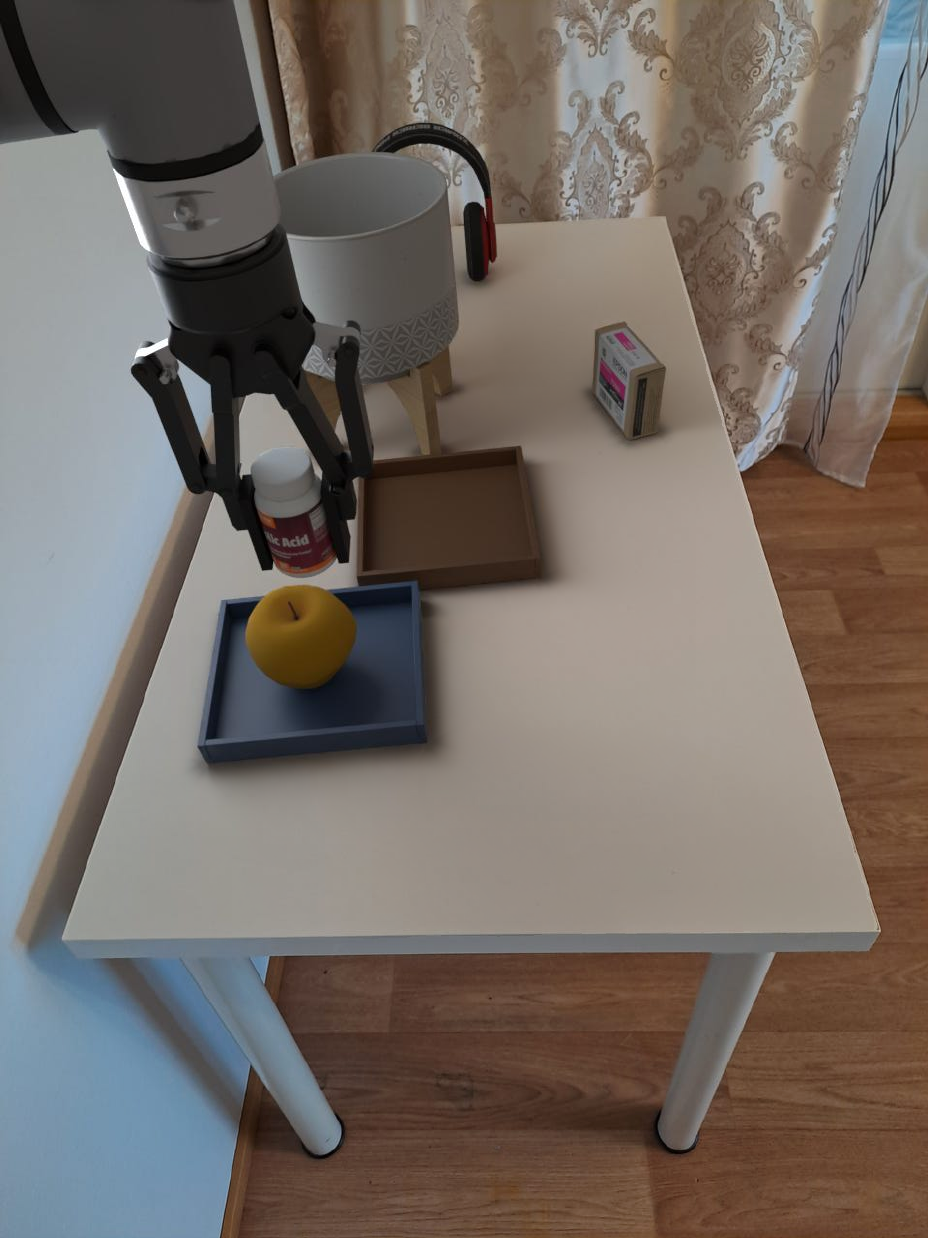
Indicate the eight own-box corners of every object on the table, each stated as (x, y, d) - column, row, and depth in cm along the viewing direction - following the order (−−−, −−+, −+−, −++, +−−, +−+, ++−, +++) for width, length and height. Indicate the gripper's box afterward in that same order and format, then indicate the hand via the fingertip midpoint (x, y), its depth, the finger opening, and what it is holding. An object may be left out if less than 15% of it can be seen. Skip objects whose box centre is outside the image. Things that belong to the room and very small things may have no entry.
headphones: (370, 303, 123) (345, 148, 108) (373, 268, 129) (349, 117, 115) (499, 292, 122) (491, 135, 107) (495, 258, 129) (488, 105, 114)
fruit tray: (206, 764, 74) (197, 746, 72) (228, 618, 85) (220, 599, 83) (427, 743, 74) (423, 724, 72) (420, 599, 85) (417, 580, 83)
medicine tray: (360, 595, 86) (356, 576, 84) (362, 480, 97) (358, 461, 95) (541, 577, 86) (541, 558, 84) (521, 464, 97) (521, 445, 95)
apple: (378, 641, 81) (362, 570, 74) (344, 722, 75) (324, 652, 69) (284, 627, 83) (261, 557, 76) (245, 705, 77) (216, 636, 70)
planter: (501, 420, 103) (488, 186, 83) (367, 496, 95) (319, 259, 76) (402, 357, 113) (370, 136, 94) (274, 422, 106) (211, 196, 87)
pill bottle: (263, 574, 64) (231, 482, 58) (292, 529, 67) (264, 437, 61) (323, 585, 63) (297, 492, 57) (350, 540, 66) (328, 447, 60)
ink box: (590, 393, 105) (592, 327, 99) (620, 385, 106) (625, 319, 99) (628, 442, 98) (633, 375, 92) (660, 433, 99) (667, 366, 93)
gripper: (28, 287, 46) (175, 602, 63) (380, 251, 45) (431, 579, 62) (65, 221, 51) (192, 530, 68) (382, 188, 50) (429, 507, 67)
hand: (306, 553), depth 65 cm, fingers closed on pill bottle, 5 cm apart
